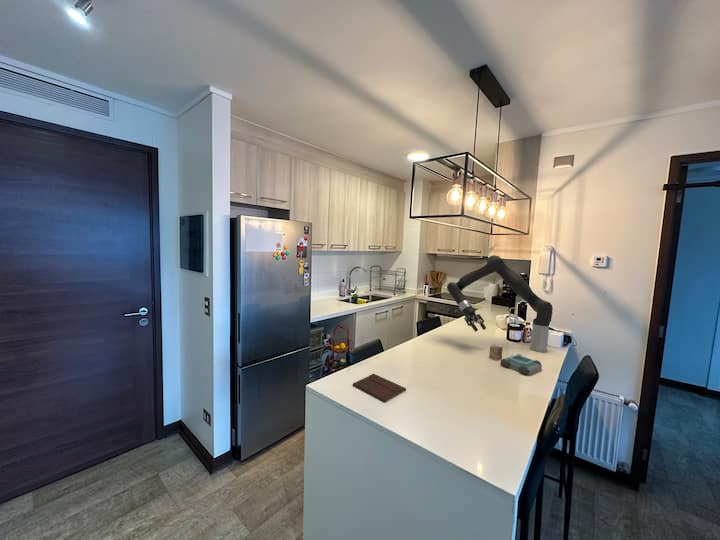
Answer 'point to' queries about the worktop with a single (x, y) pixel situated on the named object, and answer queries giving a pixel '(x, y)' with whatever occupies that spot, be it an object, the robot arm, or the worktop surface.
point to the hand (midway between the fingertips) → (480, 330)
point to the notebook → (379, 387)
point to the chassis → (522, 364)
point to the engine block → (495, 352)
